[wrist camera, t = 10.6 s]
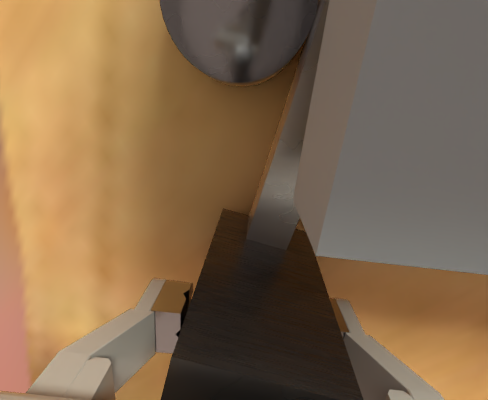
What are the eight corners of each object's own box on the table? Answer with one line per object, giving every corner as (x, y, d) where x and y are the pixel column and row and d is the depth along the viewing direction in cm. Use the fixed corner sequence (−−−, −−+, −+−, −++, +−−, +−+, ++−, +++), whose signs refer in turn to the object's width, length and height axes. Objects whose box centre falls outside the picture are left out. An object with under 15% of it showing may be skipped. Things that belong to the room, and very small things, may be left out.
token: (327, -43, 9) (347, -82, 7) (281, 101, 11) (287, 100, 9) (191, -91, 9) (174, -145, 7) (167, 66, 10) (147, 57, 8)
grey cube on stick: (418, -21, 8) (1143, -563, 1) (278, 296, 13) (295, 493, 7) (297, -62, 8) (490, -910, 1) (204, 276, 13) (146, 458, 6)
